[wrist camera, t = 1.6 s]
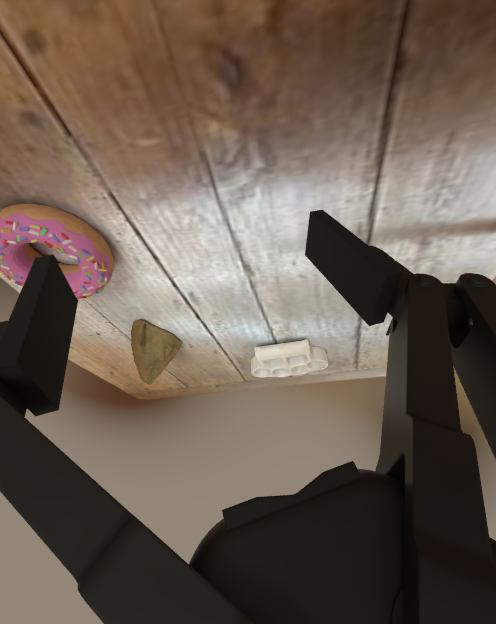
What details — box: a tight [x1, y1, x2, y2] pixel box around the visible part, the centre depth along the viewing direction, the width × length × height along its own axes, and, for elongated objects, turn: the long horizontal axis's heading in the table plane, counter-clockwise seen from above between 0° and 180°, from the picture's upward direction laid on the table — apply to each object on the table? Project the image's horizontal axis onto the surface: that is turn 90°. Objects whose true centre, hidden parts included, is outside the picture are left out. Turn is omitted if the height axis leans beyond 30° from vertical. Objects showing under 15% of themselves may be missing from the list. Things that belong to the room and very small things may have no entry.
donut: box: [0, 204, 114, 299], centre depth 38 cm, size 14×14×5 cm
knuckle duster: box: [251, 339, 328, 377], centre depth 68 cm, size 3×18×15 cm
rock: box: [131, 320, 182, 384], centre depth 58 cm, size 11×9×10 cm
